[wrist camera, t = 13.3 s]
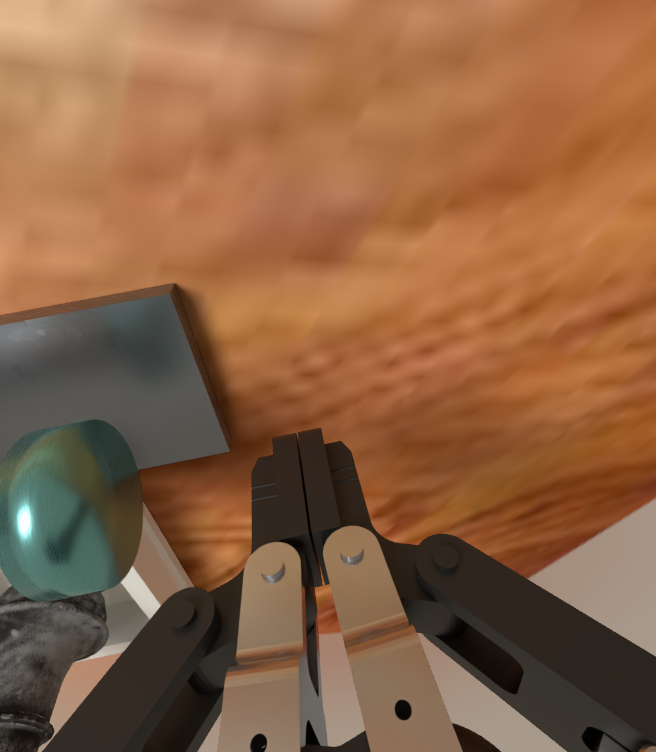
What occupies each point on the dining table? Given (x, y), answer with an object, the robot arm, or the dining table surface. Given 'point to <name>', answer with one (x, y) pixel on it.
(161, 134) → the dining table surface
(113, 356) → the bearing block
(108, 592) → the holder
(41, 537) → the shaft
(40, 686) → the dark grey turned piece
